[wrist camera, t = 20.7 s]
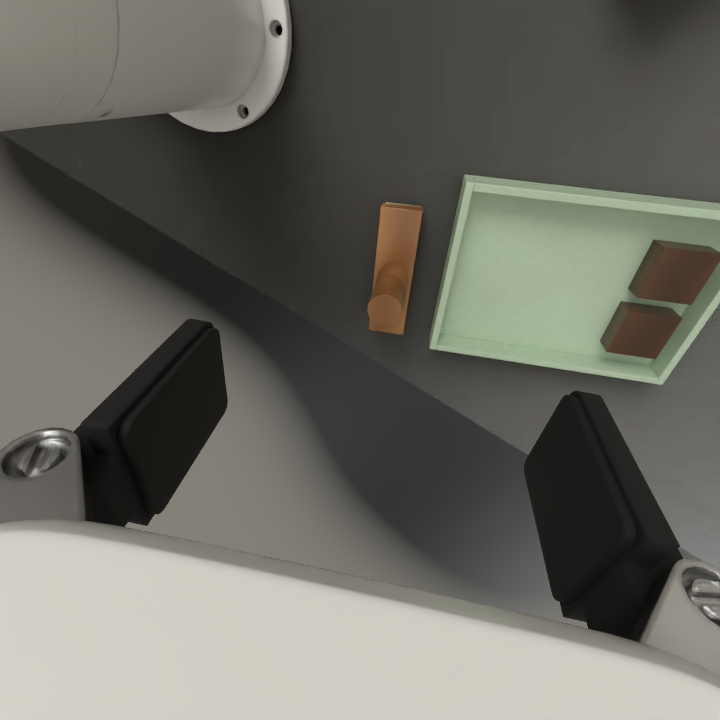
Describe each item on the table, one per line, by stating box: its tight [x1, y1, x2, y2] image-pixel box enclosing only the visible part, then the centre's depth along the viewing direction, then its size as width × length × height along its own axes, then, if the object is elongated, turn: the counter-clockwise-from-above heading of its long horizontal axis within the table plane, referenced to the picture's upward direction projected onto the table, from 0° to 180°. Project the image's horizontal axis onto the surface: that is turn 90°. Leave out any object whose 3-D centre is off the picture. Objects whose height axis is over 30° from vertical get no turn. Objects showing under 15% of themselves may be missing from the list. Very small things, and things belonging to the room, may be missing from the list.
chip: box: [600, 301, 682, 359], centre depth 32 cm, size 4×4×2 cm
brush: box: [367, 202, 423, 335], centre depth 31 cm, size 3×11×8 cm, turn 176°
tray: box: [429, 175, 720, 385], centre depth 31 cm, size 20×14×3 cm
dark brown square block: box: [628, 240, 720, 305], centre depth 29 cm, size 4×4×2 cm
